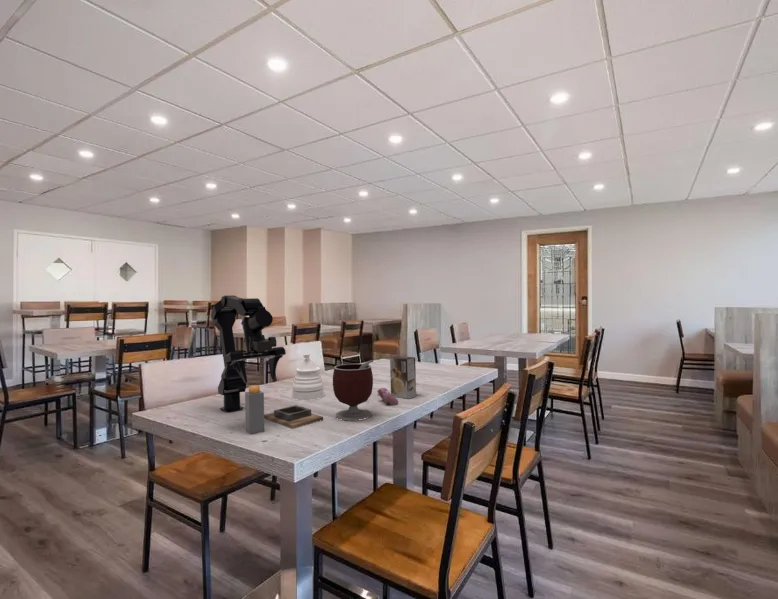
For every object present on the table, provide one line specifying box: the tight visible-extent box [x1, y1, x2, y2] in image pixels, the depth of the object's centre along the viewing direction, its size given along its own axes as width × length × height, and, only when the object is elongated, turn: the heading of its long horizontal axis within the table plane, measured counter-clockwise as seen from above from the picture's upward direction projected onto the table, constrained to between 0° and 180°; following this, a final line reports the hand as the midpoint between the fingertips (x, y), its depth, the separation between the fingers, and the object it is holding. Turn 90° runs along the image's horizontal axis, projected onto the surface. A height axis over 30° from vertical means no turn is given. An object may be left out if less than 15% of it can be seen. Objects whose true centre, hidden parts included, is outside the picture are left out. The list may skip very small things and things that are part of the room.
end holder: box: [264, 404, 324, 429], centre depth 139 cm, size 18×12×3 cm, turn 47°
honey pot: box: [291, 353, 325, 401], centre depth 170 cm, size 13×13×18 cm
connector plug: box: [244, 384, 265, 435], centre depth 127 cm, size 4×4×14 cm
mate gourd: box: [332, 359, 374, 421], centre depth 141 cm, size 16×14×20 cm
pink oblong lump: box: [377, 387, 399, 406], centre depth 158 cm, size 10×5×7 cm, turn 21°
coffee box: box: [389, 355, 417, 400], centre depth 168 cm, size 9×6×16 cm
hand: (259, 380), depth 133 cm, fingers open, 9 cm apart
